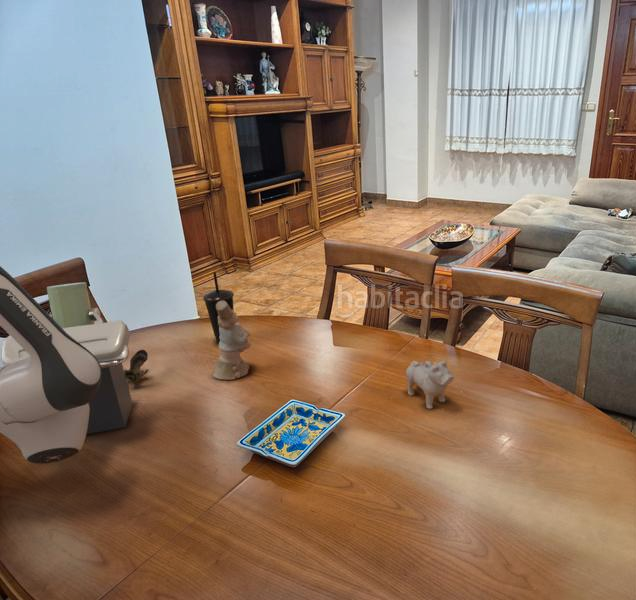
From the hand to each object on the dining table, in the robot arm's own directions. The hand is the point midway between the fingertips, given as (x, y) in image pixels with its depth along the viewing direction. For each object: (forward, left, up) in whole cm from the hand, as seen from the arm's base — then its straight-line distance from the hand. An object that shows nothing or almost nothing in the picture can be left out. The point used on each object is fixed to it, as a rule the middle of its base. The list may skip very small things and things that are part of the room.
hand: (72, 312), depth 99 cm
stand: (0, -2, -24) cm, 24 cm away
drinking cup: (+25, +27, -24) cm, 44 cm away
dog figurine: (+68, -17, -24) cm, 74 cm away
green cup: (0, +1, +5) cm, 6 cm away
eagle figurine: (+5, +13, -24) cm, 28 cm away
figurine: (+27, +9, -24) cm, 37 cm away
